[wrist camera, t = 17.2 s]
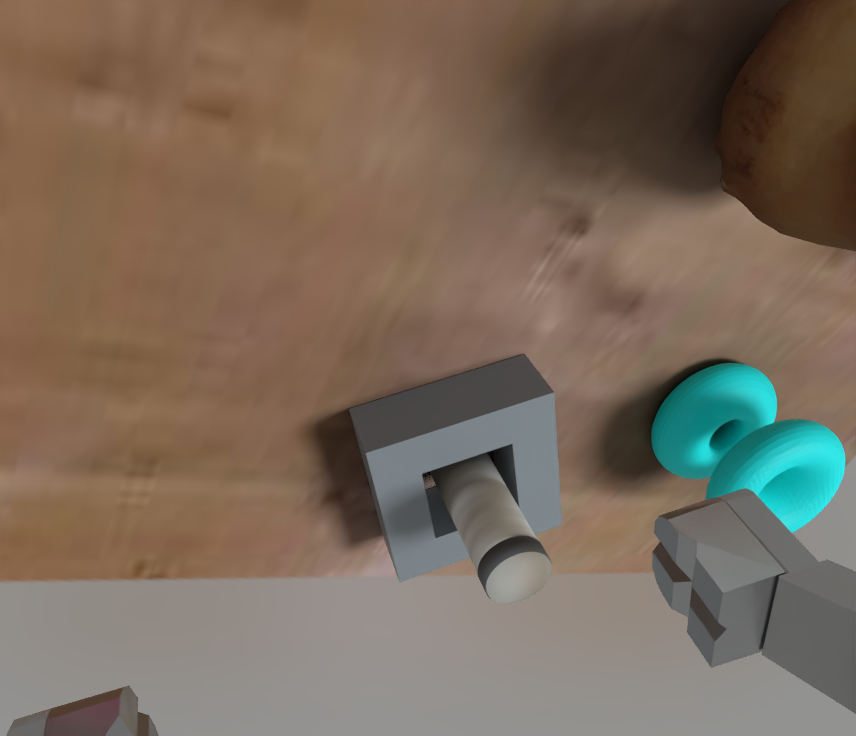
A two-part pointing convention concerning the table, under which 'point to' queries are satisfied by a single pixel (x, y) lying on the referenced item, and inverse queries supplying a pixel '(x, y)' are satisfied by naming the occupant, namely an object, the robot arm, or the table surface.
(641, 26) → the table surface
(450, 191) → the table surface
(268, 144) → the table surface
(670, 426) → the donuts
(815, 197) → the butternut squash
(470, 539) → the peg
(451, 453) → the socket
